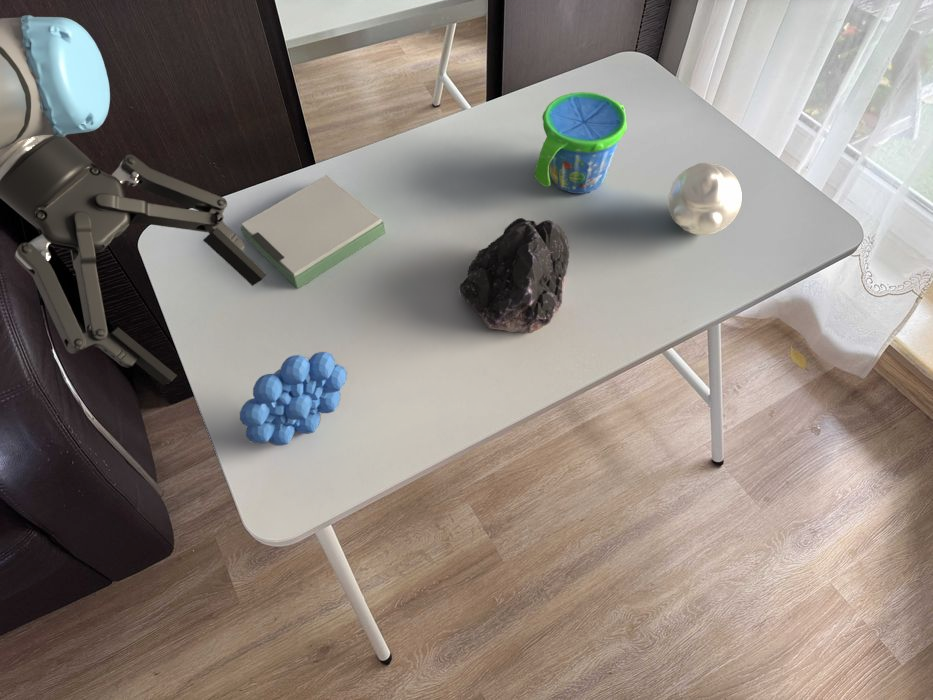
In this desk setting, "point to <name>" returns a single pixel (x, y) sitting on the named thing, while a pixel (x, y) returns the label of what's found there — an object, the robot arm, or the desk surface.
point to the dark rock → (519, 277)
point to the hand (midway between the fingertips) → (217, 328)
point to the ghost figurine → (704, 198)
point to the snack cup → (580, 141)
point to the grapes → (293, 398)
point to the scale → (312, 230)
